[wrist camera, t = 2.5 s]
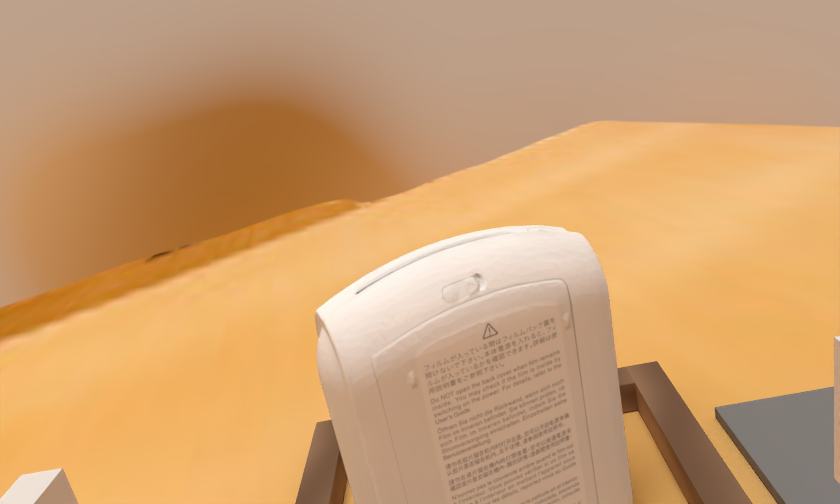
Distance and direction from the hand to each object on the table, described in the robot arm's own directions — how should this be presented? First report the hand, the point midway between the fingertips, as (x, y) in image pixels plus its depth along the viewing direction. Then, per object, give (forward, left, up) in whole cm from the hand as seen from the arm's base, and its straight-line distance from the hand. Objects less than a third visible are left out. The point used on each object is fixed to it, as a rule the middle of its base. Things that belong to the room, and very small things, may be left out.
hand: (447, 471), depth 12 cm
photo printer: (0, -11, -12) cm, 16 cm away
